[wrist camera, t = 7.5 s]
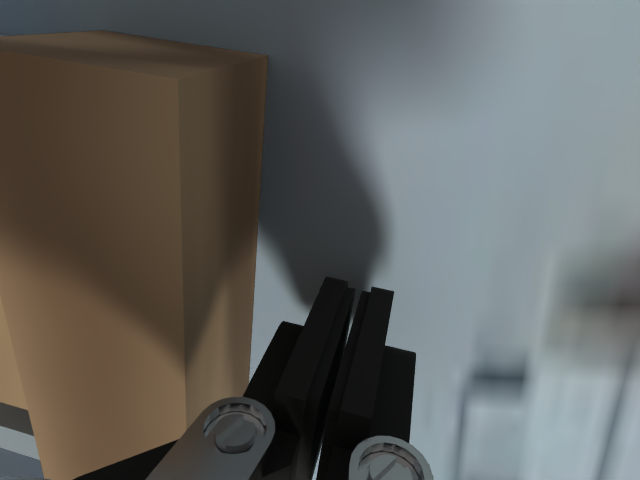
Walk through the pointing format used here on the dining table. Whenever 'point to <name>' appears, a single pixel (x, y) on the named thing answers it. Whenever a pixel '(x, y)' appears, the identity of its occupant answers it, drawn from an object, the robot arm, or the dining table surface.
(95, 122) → the t block
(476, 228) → the dining table surface
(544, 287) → the dining table surface
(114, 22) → the dining table surface
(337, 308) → the robot arm
